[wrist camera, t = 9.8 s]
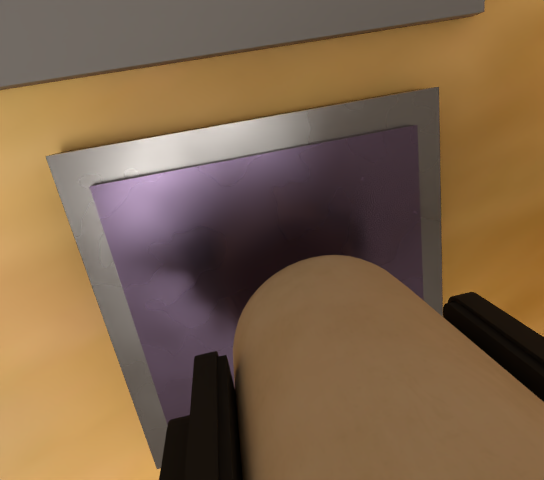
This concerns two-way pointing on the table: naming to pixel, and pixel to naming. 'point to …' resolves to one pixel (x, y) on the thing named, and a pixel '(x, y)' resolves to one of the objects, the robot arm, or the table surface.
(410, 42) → the table surface
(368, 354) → the candle
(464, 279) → the table surface
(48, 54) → the marked board
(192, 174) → the ink pad
